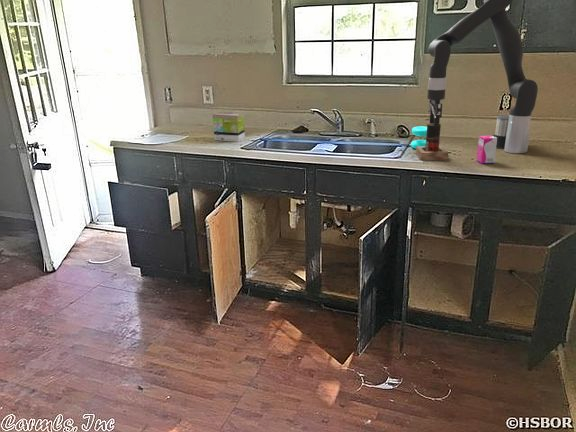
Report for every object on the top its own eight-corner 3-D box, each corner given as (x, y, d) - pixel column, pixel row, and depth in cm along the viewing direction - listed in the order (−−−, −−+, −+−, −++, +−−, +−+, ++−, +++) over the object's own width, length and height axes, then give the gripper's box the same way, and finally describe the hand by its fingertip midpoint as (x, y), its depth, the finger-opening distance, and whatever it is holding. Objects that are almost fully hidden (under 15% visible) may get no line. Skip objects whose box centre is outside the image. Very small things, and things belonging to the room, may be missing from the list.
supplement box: (488, 160, 212) (491, 135, 208) (494, 163, 207) (497, 138, 202) (475, 160, 212) (478, 135, 208) (481, 164, 206) (484, 138, 202)
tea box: (214, 141, 265) (211, 114, 260) (221, 137, 274) (219, 111, 269) (238, 142, 261) (237, 115, 255) (245, 138, 270) (244, 112, 264)
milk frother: (509, 150, 229) (514, 119, 223) (476, 146, 238) (480, 116, 232) (517, 144, 239) (522, 114, 233) (485, 140, 248) (489, 112, 243)
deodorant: (422, 156, 221) (424, 124, 216) (429, 154, 225) (431, 122, 219) (433, 159, 217) (436, 126, 211) (440, 156, 220) (443, 124, 215)
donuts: (426, 125, 239) (436, 129, 231) (424, 144, 243) (435, 149, 234) (408, 126, 237) (418, 130, 228) (406, 146, 241) (417, 150, 232)
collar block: (440, 153, 226) (441, 146, 225) (447, 159, 215) (448, 152, 213) (415, 153, 227) (416, 146, 225) (420, 160, 215) (421, 152, 214)
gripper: (449, 89, 202) (446, 127, 208) (441, 86, 216) (438, 121, 222) (431, 90, 203) (429, 128, 209) (424, 86, 216) (422, 122, 222)
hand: (434, 124), depth 215 cm, fingers open, 8 cm apart
